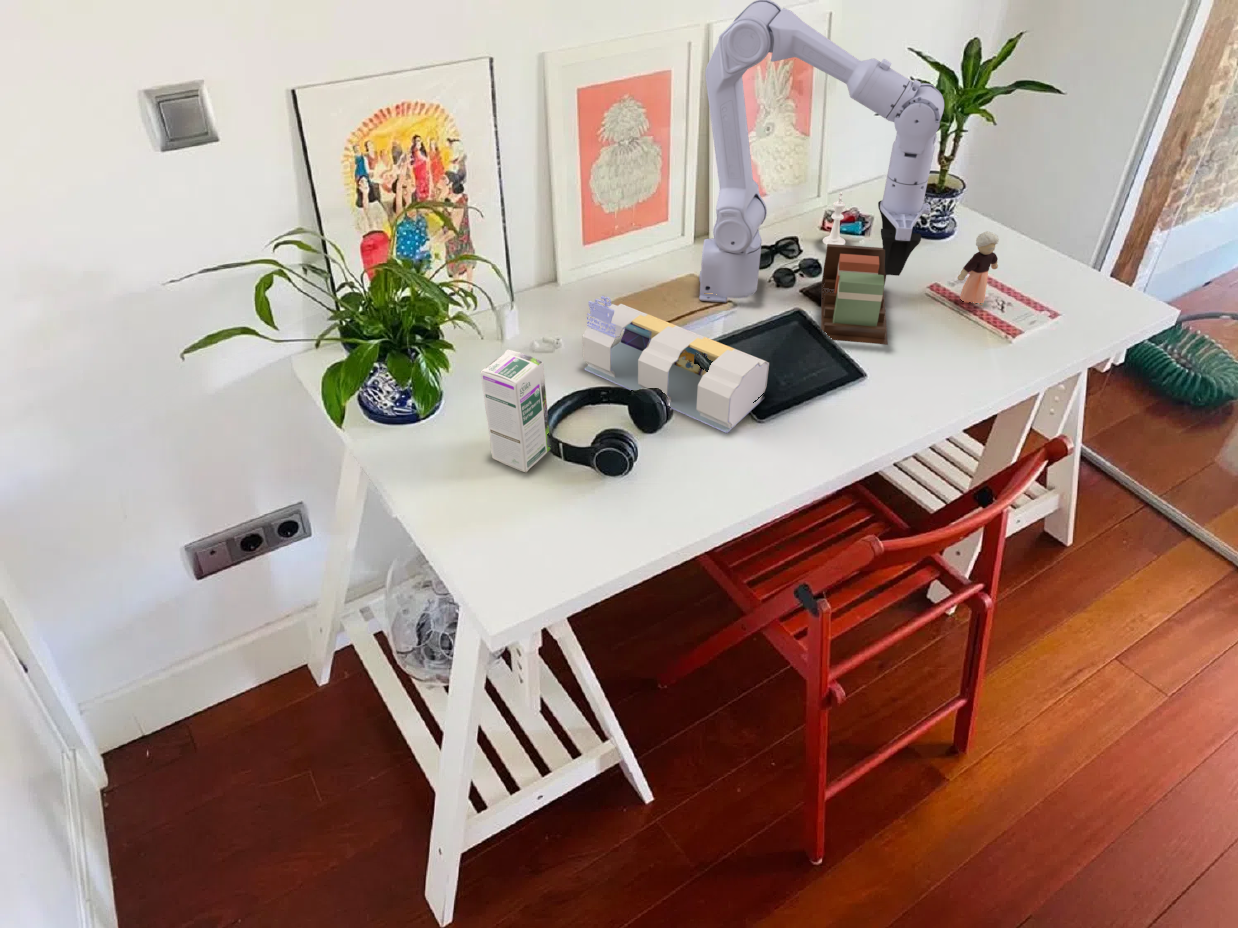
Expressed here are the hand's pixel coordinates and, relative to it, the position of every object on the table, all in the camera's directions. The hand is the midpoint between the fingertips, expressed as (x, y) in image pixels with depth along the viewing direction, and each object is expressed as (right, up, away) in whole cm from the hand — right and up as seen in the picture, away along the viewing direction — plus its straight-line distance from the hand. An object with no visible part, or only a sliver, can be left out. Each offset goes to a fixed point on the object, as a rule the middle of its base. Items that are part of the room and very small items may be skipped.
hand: (890, 261), depth 151 cm
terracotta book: (-4, -4, +10) cm, 11 cm away
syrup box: (-54, -30, -18) cm, 64 cm away
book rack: (-4, -7, +7) cm, 11 cm away
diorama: (-33, -19, -6) cm, 39 cm away
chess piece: (-3, +8, +25) cm, 26 cm away
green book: (-5, -9, +3) cm, 11 cm away
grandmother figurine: (+16, -5, +10) cm, 19 cm away
